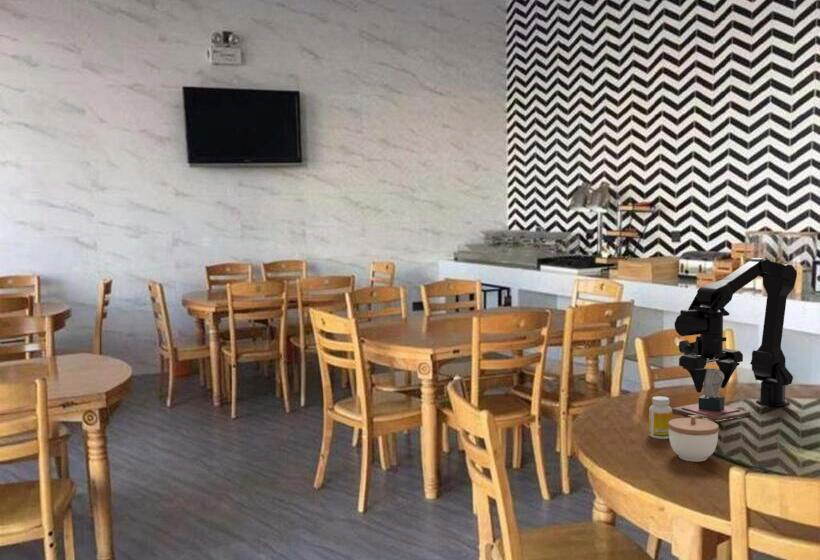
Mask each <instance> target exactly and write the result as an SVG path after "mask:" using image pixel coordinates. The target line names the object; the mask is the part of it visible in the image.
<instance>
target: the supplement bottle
mask: <svg viewBox="0 0 820 560" xmlns="http://www.w3.org/2000/svg"><path fill="white" fill-rule="evenodd" d="M651 403H652V405H650V407H649V408H648V409H649V410H648V414H649V415H648V436H649V437H650V438H653V439H658V440H666V439H667V440H668V439H669V427H668V422H669V421H670V420H672V419H673V412H672V407H671V406H669V405H670V397H667V396H661V395H658V396H657V395H656V396H653V397H652V399H651Z"/></svg>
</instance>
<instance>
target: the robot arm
mask: <svg viewBox="0 0 820 560" xmlns="http://www.w3.org/2000/svg"><path fill="white" fill-rule="evenodd" d="M797 274H798V273H797V269H795V267H794V266H793V265H792V264H787V263H785V264H784V263H779V262H775V261H772V260H770V259H767V258H763V257H762V258H761V257H751V258H749V259H748V261H747V262H745V263H744V264H742V265H741V266H740V267H738V268H737V269H736V270H734V271H733V272H731V273H729V274H728V275H727V276H725V277H723V278H722V279H720V280H718V281H713V282H709V283H708V284H704V285H703V286H700V287H699V288H698V289H697V292H696V295H695V296H694V298H693V300H692V302H691V304H690V305H689V307H688V309H687V310H685V309H681V310H680V313H679V315H678V316H676V319H675V321H674V329H675V332H676V333H677V334H678V335H679V336H681V337H687V336H695V341H693V342H689V340H688V339H687V340H682V341H681V340H680V341H679V343H678V351H679V353H680V354H683V355H681V356H680V357H679V359H678V366H679V367H682V369H684V370H686V371H687V372H688V373H689V375H690V377H691V380H692V382H693V385H694V388H695V390H696V392H697V393H701V392H703V391H702V390H703V385H704V379H705V374H706V370H707V368H705V367H706V366H707V364H709V363H716V365H717V366H718V370H720V371H721V372H722V373H723V374H724V380H723V382H722V385H721V386H720V389H725V388H726V387H727V385H728V383H729V381H730V379H731V377H732V375H733V374H734V372H735V370H736V368H737V367H738V366H740V363H741V362H744V354H743V353H742V352H741V351H740V350H737V349H731V348H724V347H723V345H724V342H727V336H724V317H726V316H730V312H729V311H728V310H726V309H725V307H726V306H727V305H728V304H729V303H730V302H731V301H732V300H733V295H734V294H735V293H737V292H738V291H740V290H741V289H743V288H744V287H746V285H749V283H751V282H753V281H754V280H755V279H757V278H758V277H761V278H762V285H763V286H762V287H763V288H764V290H765V292H766V296H767V297H766V303H765V312H764V321H763V328H762V329H763V330H762V335H761V336H762V337H761V342H760V343H761V345H760V346H759V347H758V348H757V350H755V349H754V350H752V352H751V361H750V363H749V364H750V365H751V371H752V372H753V376H754V379H755V381H760V399H757V400H755V402H756V403H757V404H762V405H766V406H770V407H774V408H777V407H781V406H785V405H790V404H791V402H790V401H787V400H786V386H789V385H792V383H793V380H794V375H793V374H792V373H791V372H790V371H789V370H788V368H787V367H786V356H785V354H784V352H783V350H782V338H783V330H784V323H785V322H784V321H785V315H786V307H787V299H788V298H787V297H788V296H789V294H790V293H792V291H793V290H794V288H795V285H796V281H797V276H798V275H797ZM696 335H697V336H696ZM723 348H724V349H723Z"/></svg>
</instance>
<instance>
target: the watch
mask: <svg viewBox="0 0 820 560" xmlns="http://www.w3.org/2000/svg"><path fill="white" fill-rule="evenodd" d="M706 369H707V370H706V374H705V379H704V383H703V387H702V389H703V393H704V394H702V395H701V396H699V397H698V403H699V409H703V410H710V411H718V412H720V411H721V410H723V409H724V406H725V396H719V394H720V393H719V392H720V389H721V387H720V386H721V385H722V382H723V380H724V374H723V373H722V372H721V371H720V370H719V368H715V367H714V368H713V367H711V368H709V367H707V368H706Z"/></svg>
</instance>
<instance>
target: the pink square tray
mask: <svg viewBox="0 0 820 560" xmlns="http://www.w3.org/2000/svg"><path fill="white" fill-rule="evenodd" d="M671 409H672V413H675V414H679V415H683V416H685V417H689V416H688V415H698V416H702V417H704V418H708V419H711V420H713V421H715V420H723V419H730V418H736V419H739V418H738V417H741V418H745V417H749V416H751V412H750V411H748V410H743V409H740V408H736V407H731V406H728V405H724V409H723V410H721V411H720V412H718V411H710V410H703V409H699V402H696V403H693V404H692V403H691V404H688V405H687V404H686V405H682V406H676V407H671Z"/></svg>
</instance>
